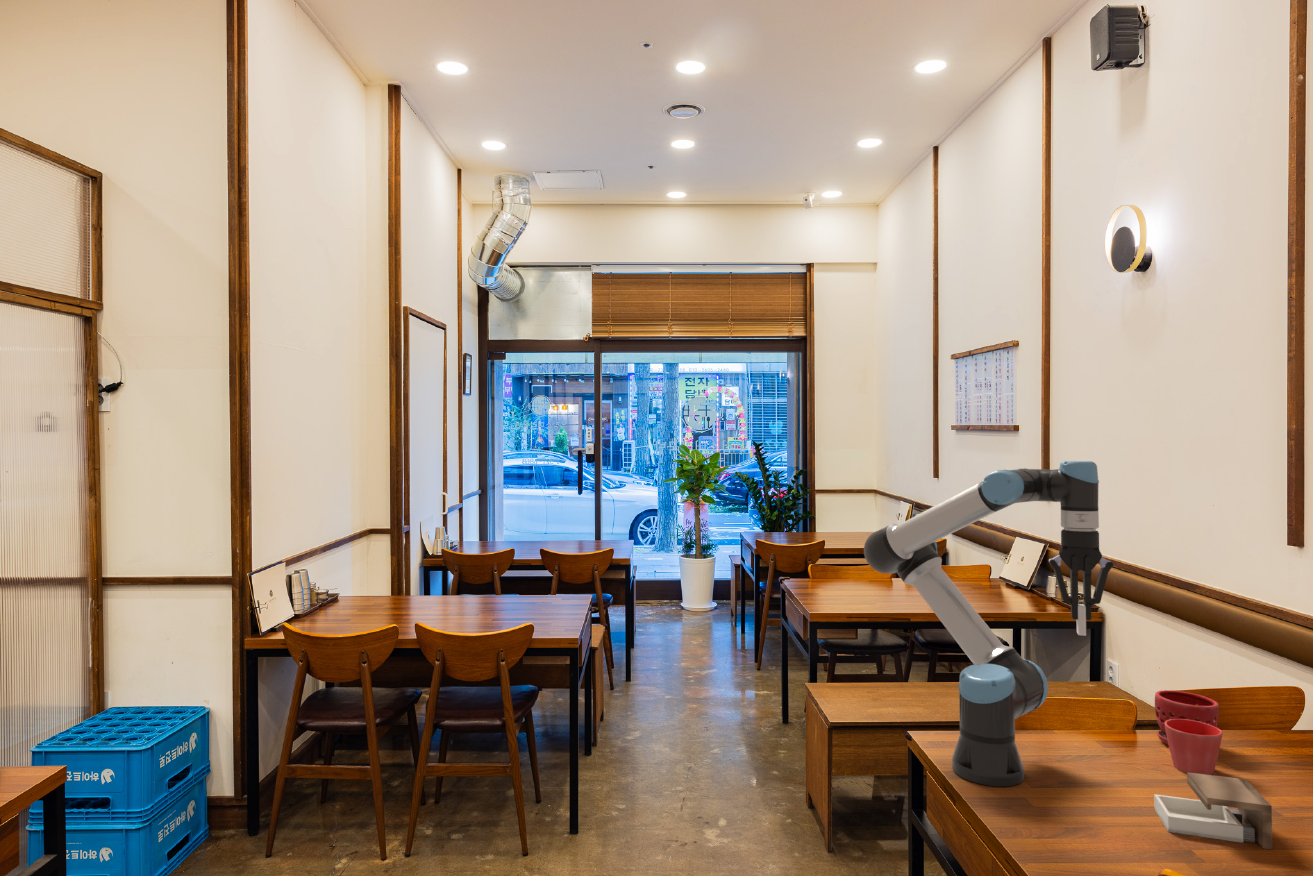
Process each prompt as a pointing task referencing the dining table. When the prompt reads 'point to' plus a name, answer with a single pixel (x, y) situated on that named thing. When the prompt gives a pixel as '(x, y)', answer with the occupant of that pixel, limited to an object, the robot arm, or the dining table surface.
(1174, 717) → the plant pot
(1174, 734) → the flower pot
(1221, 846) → the dining table surface
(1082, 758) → the dining table surface
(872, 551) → the robot arm
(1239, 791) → the shelf
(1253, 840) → the small stepped grey block
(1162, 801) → the tray
